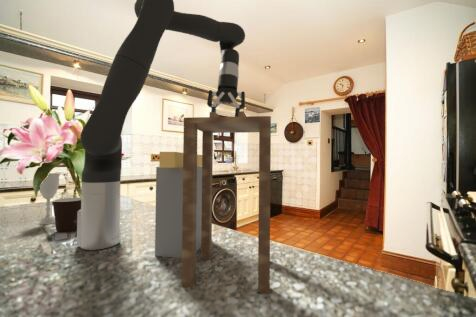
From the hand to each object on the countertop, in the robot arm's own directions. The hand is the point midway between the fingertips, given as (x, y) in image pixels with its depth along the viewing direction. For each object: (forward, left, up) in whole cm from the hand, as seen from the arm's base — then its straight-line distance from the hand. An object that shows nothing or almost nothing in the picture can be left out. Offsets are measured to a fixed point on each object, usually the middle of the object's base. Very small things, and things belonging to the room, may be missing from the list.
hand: (224, 118), depth 88 cm
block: (-6, -26, -40) cm, 48 cm away
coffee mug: (-49, -16, -40) cm, 65 cm away
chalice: (-64, -11, -40) cm, 76 cm away
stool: (+9, -38, -40) cm, 55 cm away
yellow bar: (-6, -26, -18) cm, 32 cm away
